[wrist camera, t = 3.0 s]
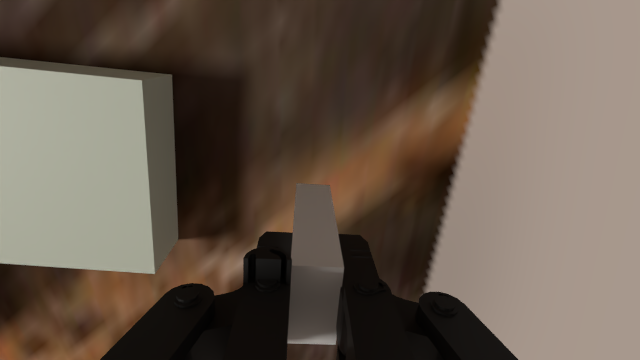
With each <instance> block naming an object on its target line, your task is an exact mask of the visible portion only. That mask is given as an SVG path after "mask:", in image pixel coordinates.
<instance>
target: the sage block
mask: <svg viewBox="0 0 640 360" xmlns="http://www.w3.org/2000/svg"><path fill="white" fill-rule="evenodd" d="M177 241H178V216H177V191H176V165H175V139H174V114H173V88H172V75H171V74H161V73H151V72H141V71H132V70H122V69H112V68H102V67H93V66H83V65H73V64H63V63H54V62H44V61H34V60H25V59H15V58H5V57H0V263H4V264H18V265H33V266H48V267H62V268H77V269H92V270H106V271H121V272H136V273H150V274H155V273H156V271H157V270H158V269H159V267H160V266H161V264H162V263H163V261H164V260H165V258H166V257H167V255H168V254H169V252H170V251H171V250H172V248H173V247H174V245H175V244H176V242H177Z"/></svg>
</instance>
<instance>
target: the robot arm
mask: <svg viewBox="0 0 640 360" xmlns="http://www.w3.org/2000/svg"><path fill="white" fill-rule="evenodd" d="M336 335H337V341H338V348H337V357H336V360H518V359H517V358H516V357H515V356H514V355H513V354H512V353H511V352H510V351H509V350H508V349H507V348H506V347H505V346H504V345H503V343H502V342H501V341H500V340H499V339H498V338H497V337H496V336H495V335H494V334H493V333H492V332H491V331H490V330H489V329H488V328H487V327H486V326H485V325H484V324H483V323H482V322H481V321H480V320H479V319H478V318H477V317H476V316H475V315H474V313H473V312H472V311H470V309H469V308H468V307H467V306H466V305H465V304H464V303H462V302H461V301H460V300H458V299H457V298H455V297H453V296H451V295H449V294H446V293H441V292H428V293H425V294H423V295H422V296H421V297H420V298H419V303H416V302H413V301H409V300H405V299H402V298H399V297H396V296H394V295H392V293H391V290H390V288H389V287H388V285H387V284H386V283H385V282H384V281H382V280H381V279H379V276H378V273H377V270H376V267H375V264H374V261H373V258H372V255H371V252H370V248H369V245H368V242H367V241H366V240H365V239H363V238H362V237H361V236H360V235H347V234H338V230H337V224H336V219H335V213H334V207H333V202H332V196H331V190H330V185H316V184H298V183H297V184H296V197H295V210H294V223H293V233H287V232H265V233H264V234H263V235H262V236H261V237H260V238H259V241H258V245H257V249H253V250H251V251H250V252H248V253H247V254H246V255H245V257H244V280H243V286H242V287H241V288H240V289H238V290H235V291H233V292H230V293H226V294H221V295H215V296H214V292H213V291H212V290H211V289H210V288H209V287H208V286H205V285H203V284H194V283H191V284H184V285H180V286H178V287H175V288H173V289H171V290H170V291H168V292H167V293H166V294H165V295H164V296H163V297H162V298H161V299H160V300H159V301H158V302H157V303H156V304H155V305H154V306H153V307H152V308H151V309H150V310H149V311H148V312H147V313H146V314H145V315H144V316H143V317H142V318H141V319H140V320H139V321H138V322H137V323H136V324H135V325H134V326H133V327H132V328H131V329H130V330H129V331H128V332H127V333H126V334H125V335H124V336H123V337H122V338H121V339H120V340H119V341H118V342H117V343H116V344H115V345H114V346H113V347H112V348H111V349H110V350H109V351H108V352H107V353H106V354H105V355H104V356H103V357H102V358H101V359H100V360H286V359H287V343H298V344H330V345H335V344H336Z"/></svg>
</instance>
